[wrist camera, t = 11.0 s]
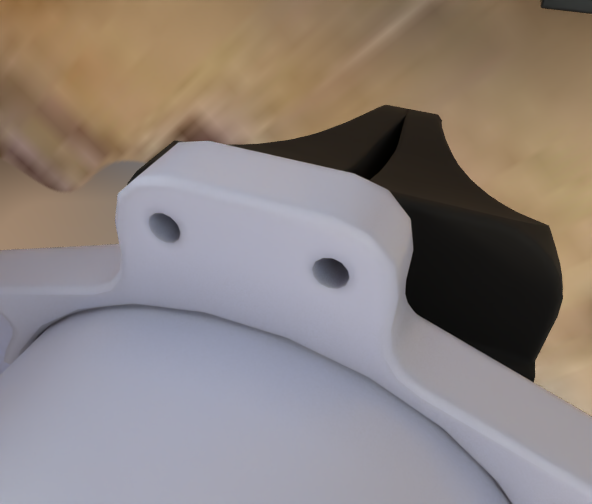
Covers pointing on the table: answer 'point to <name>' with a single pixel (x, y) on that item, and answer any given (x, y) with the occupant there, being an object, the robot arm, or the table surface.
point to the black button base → (568, 5)
